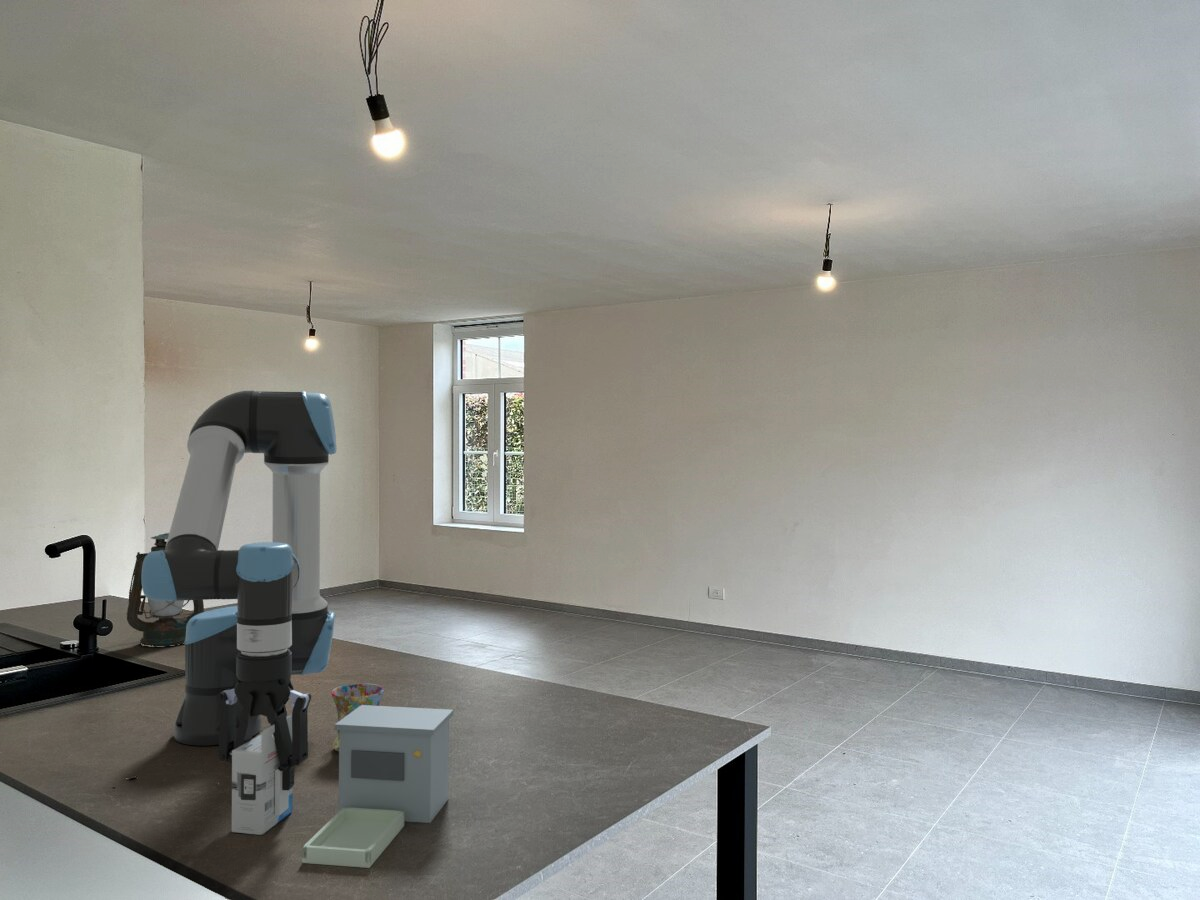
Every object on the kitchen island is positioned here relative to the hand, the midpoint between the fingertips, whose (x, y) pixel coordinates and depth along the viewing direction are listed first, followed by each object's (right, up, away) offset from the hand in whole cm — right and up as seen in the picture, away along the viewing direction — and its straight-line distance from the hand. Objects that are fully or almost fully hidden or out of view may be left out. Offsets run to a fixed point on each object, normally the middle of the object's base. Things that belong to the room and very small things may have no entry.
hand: (262, 809), depth 131 cm
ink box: (0, -2, 0) cm, 2 cm away
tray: (+15, -2, -7) cm, 17 cm away
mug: (+4, -2, +33) cm, 33 cm away
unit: (+18, -2, +6) cm, 19 cm away
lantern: (-70, 0, +115) cm, 134 cm away
